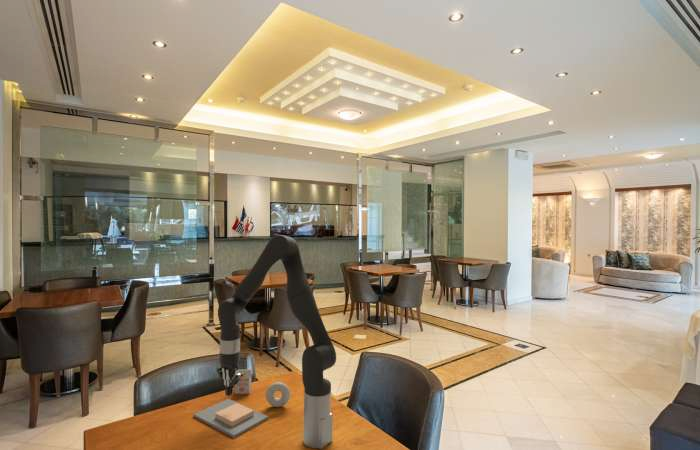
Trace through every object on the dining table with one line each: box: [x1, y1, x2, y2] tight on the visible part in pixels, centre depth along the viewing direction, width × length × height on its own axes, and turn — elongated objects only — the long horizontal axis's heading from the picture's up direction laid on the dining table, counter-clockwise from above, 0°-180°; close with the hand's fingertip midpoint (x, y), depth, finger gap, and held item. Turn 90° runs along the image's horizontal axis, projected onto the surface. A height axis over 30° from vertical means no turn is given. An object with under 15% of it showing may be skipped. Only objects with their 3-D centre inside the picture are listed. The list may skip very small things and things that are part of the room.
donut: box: [265, 381, 291, 408], centre depth 150 cm, size 10×4×10 cm, turn 91°
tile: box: [215, 402, 255, 427], centre depth 139 cm, size 2×10×10 cm
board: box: [193, 398, 269, 439], centre depth 140 cm, size 24×16×1 cm, turn 56°
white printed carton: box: [233, 369, 252, 395], centre depth 162 cm, size 4×7×10 cm, turn 92°
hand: (228, 394), depth 141 cm, fingers closed
